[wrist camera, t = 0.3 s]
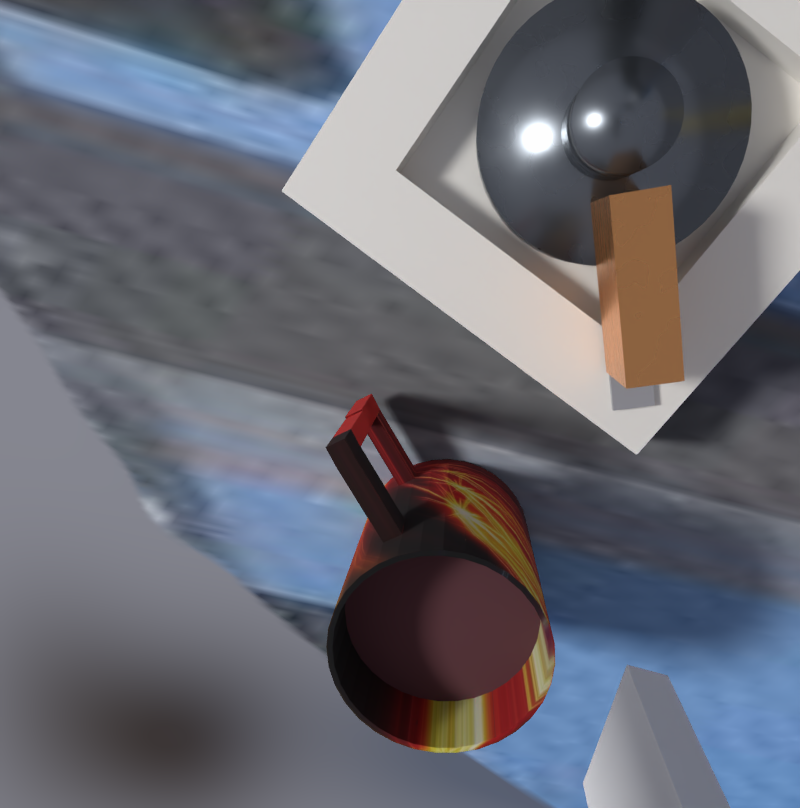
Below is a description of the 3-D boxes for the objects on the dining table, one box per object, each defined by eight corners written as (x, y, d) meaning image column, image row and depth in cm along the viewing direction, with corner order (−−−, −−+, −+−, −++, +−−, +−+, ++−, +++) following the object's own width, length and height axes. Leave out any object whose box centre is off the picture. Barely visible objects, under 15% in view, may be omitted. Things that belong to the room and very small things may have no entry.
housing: (560, -208, 30) (598, -390, 22) (921, 85, 31) (1093, 22, 23) (300, 197, 35) (248, 179, 27) (619, 434, 37) (666, 489, 28)
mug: (368, 384, 37) (325, 444, 26) (561, 520, 38) (604, 637, 26) (279, 510, 40) (203, 617, 28) (463, 636, 40) (464, 791, 29)
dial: (460, 26, 31) (459, -27, 25) (726, -29, 29) (792, -99, 23) (504, 378, 34) (513, 404, 28) (744, 345, 33) (805, 364, 27)
